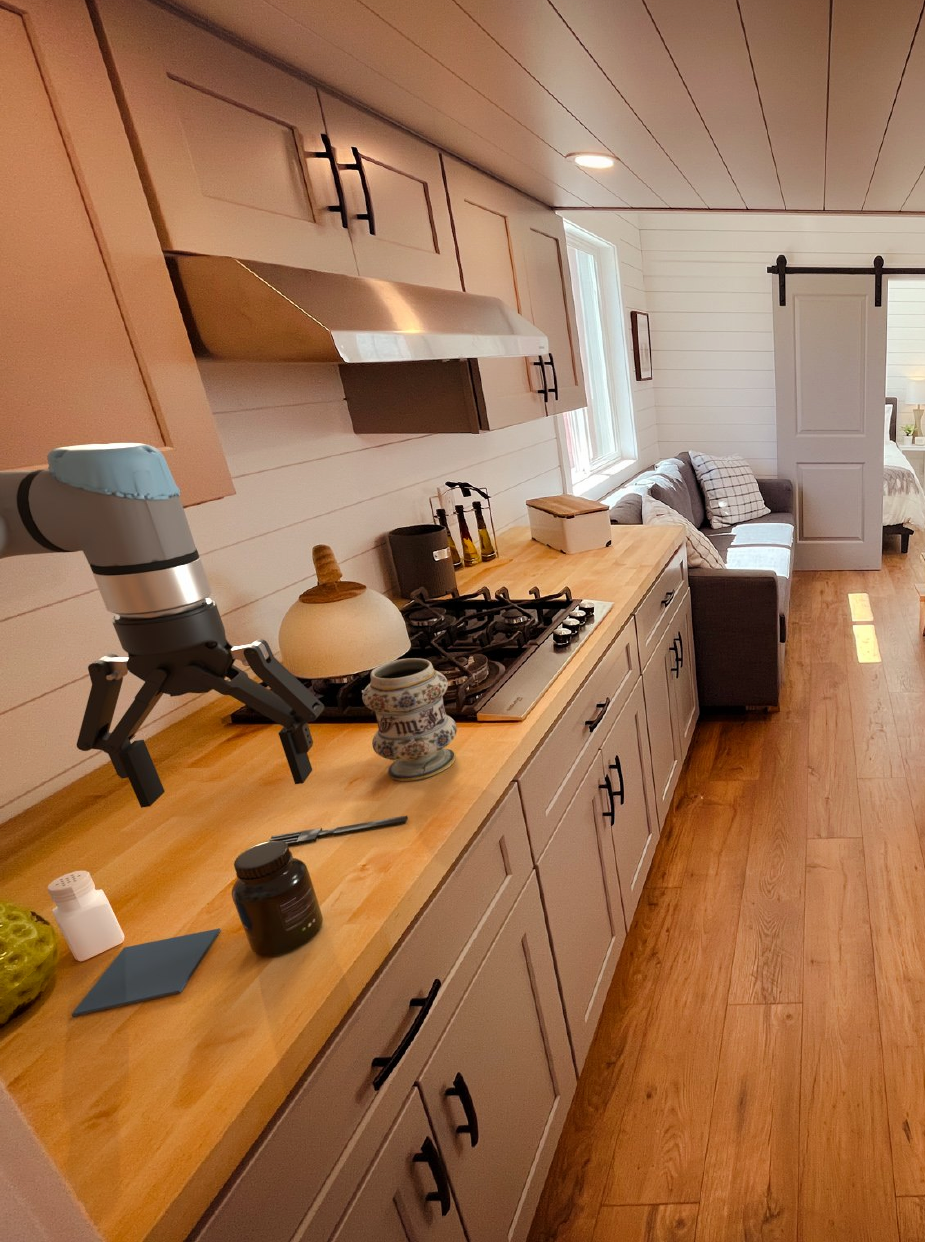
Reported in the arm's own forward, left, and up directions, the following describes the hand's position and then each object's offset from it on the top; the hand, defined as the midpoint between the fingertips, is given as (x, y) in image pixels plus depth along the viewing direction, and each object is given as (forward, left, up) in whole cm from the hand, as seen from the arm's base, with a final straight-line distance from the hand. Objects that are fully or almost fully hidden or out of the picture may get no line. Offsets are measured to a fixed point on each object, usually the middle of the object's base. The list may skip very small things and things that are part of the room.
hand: (230, 788), depth 74 cm
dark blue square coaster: (-11, -2, -20) cm, 23 cm away
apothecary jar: (+8, +35, -20) cm, 41 cm away
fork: (+1, +19, -20) cm, 27 cm away
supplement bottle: (+1, -1, -20) cm, 20 cm away
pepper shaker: (-19, +4, -20) cm, 28 cm away
